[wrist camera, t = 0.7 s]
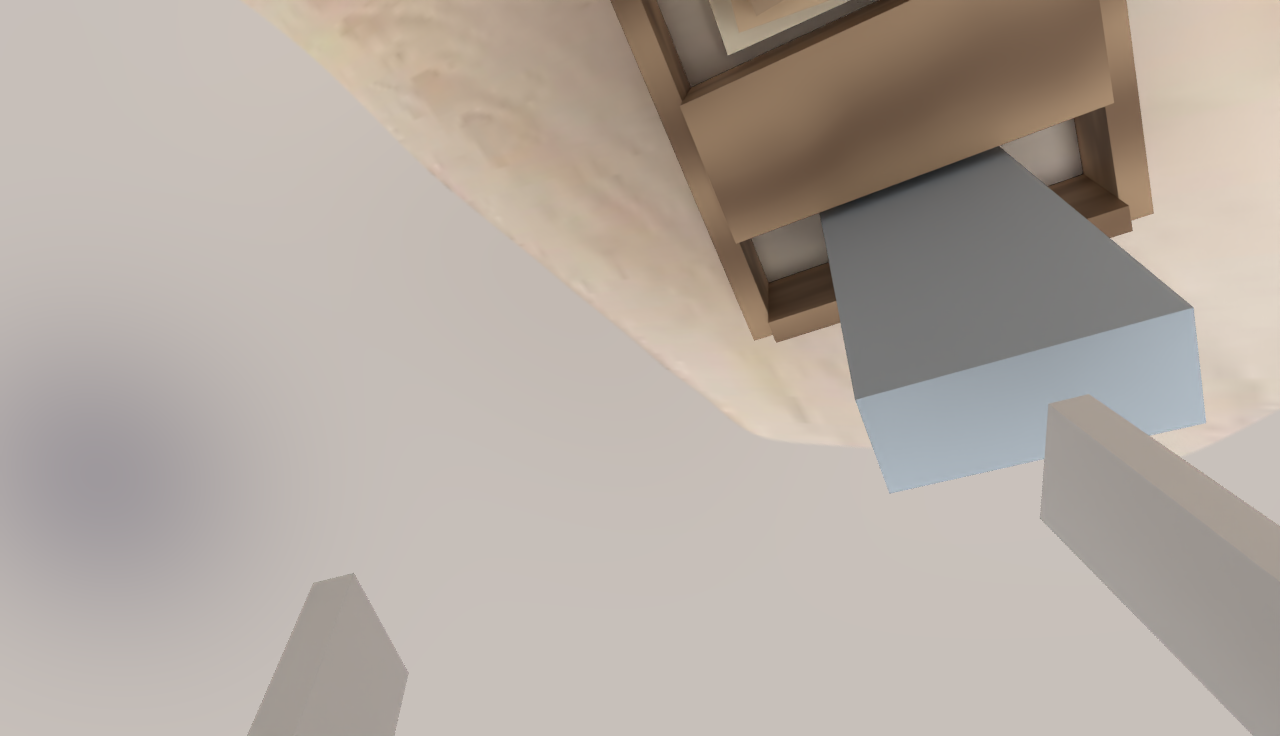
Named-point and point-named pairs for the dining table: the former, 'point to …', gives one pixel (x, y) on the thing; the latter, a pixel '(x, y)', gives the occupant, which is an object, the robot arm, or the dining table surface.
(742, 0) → the plate
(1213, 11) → the dining table surface
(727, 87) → the tray
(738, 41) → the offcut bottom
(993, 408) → the grey rectangular block
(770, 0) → the offcut top
